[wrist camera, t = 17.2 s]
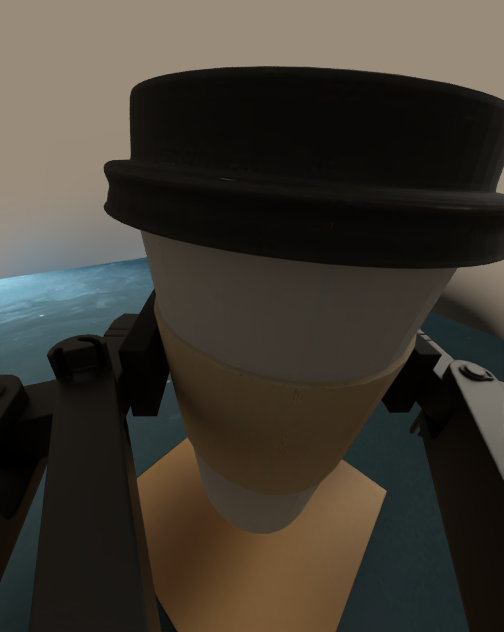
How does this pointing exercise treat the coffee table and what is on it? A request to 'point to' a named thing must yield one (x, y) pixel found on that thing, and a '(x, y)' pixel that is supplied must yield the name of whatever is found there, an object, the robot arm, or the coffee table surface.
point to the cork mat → (253, 552)
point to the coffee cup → (299, 254)
